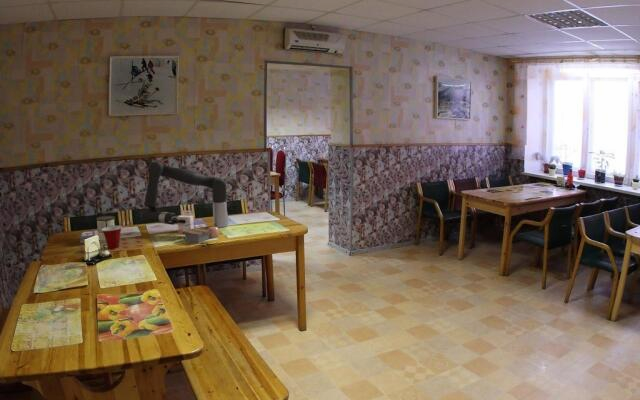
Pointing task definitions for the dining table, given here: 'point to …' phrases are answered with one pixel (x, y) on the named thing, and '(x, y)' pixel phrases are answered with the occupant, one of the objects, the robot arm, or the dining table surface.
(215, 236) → the pinkish brown round piece
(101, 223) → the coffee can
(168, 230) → the dining table surface
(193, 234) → the display podium
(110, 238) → the plastic cup
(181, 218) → the ink cartridge box
